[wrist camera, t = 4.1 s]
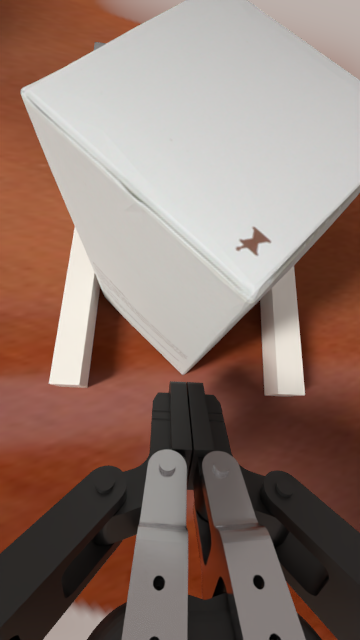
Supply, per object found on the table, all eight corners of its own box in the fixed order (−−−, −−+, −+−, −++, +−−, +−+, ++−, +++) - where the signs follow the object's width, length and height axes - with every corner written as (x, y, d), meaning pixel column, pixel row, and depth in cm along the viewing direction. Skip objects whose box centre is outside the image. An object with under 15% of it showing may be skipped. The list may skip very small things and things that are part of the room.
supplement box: (259, 299, 19) (437, 122, 7) (181, 378, 17) (252, 313, 5) (181, 227, 20) (226, -31, 8) (99, 294, 18) (3, 80, 6)
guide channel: (60, 386, 17) (13, 375, 11) (104, 98, 23) (89, -4, 17) (288, 396, 18) (354, 391, 12) (269, 118, 24) (305, 29, 19)
